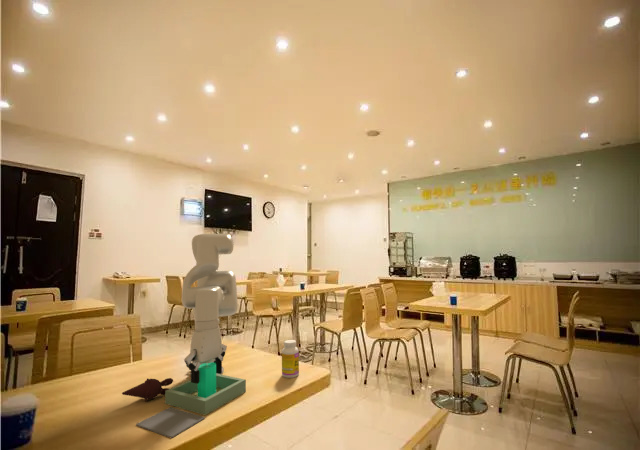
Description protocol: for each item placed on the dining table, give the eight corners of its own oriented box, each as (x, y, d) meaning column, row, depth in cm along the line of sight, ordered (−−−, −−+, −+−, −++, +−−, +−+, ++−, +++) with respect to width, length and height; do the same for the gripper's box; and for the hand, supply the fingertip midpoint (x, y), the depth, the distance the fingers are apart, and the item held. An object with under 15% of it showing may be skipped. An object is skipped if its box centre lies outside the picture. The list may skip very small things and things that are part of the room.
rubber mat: (136, 425, 91) (136, 423, 91) (170, 408, 101) (170, 407, 101) (171, 438, 84) (171, 436, 84) (204, 418, 94) (204, 417, 94)
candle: (220, 394, 110) (219, 358, 111) (208, 402, 104) (208, 364, 105) (205, 392, 112) (205, 356, 113) (193, 400, 106) (193, 362, 107)
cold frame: (165, 403, 104) (165, 390, 105) (208, 383, 120) (208, 371, 120) (205, 415, 96) (205, 401, 96) (245, 391, 112) (245, 379, 112)
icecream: (123, 389, 100) (175, 382, 109) (123, 376, 107) (172, 370, 115) (120, 410, 101) (172, 401, 109) (120, 396, 107) (169, 389, 115)
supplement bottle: (296, 379, 122) (295, 343, 123) (279, 378, 123) (279, 343, 124) (301, 372, 128) (300, 339, 129) (285, 371, 130) (284, 338, 131)
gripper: (217, 320, 119) (218, 368, 117) (177, 329, 104) (177, 385, 102) (233, 321, 116) (233, 371, 114) (194, 331, 100) (193, 388, 98)
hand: (206, 377), depth 108 cm, fingers open, 9 cm apart
